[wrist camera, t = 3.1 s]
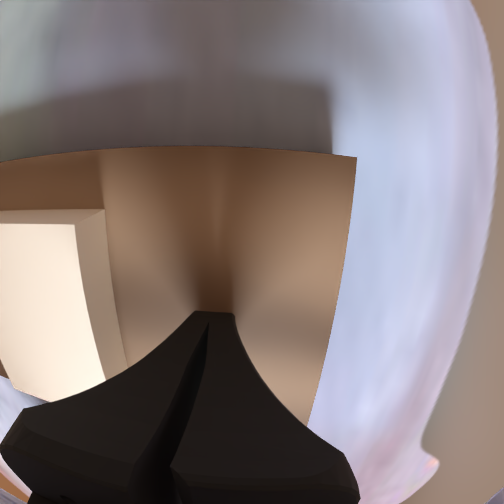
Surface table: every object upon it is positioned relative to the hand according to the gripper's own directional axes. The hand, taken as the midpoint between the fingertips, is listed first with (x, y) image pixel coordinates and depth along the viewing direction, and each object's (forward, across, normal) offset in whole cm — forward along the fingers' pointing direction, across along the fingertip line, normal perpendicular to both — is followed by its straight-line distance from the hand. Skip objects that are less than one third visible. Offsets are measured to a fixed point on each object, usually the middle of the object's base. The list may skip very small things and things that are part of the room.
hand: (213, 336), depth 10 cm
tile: (+1, +7, 0) cm, 7 cm away
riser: (+4, +6, 0) cm, 7 cm away
